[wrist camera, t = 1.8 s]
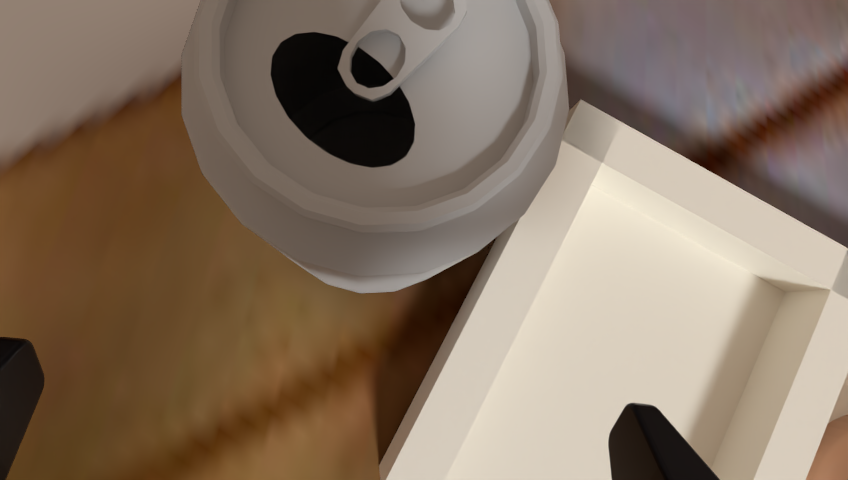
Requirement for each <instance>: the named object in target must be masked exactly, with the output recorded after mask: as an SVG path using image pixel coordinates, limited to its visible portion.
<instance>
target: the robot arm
mask: <svg viewBox="0 0 848 480" xmlns="http://www.w3.org/2000/svg"><path fill="white" fill-rule="evenodd" d="M43 386H44V373H43V371H42V368H41V365H40V363H39V360H38V357H37V355H36V352H35V349H34V347H33V345H32V343H31V342H30V341H28V340H26V339H20V338H10V337H0V480H6V477H7V475H8V473H9V471H10V468H11V466H12V463H13V461H14V458H15V456H16V454H17V451H18V449H19V446H20V444H21V441H22V439H23V437H24V434H25V432H26V429H27V427H28V424H29V422H30V420H31V417H32V415H33V412H34V410H35V408H36V405H37V403H38V400H39V398H40V395H41V393H42V390H43ZM608 449H609V458H610V468H611V477H612V480H720V479H719V478H718V477H717V476H716V474H715V473H714V472H713V471H712V470H711V469H710V467H709V466H708V465H707V464H706V463H705V462H704V461H703V459H702V458H701V457H700V456H699V455H698V454H697V453H696V451H695V450H694V449H693V448H692V447H691V446H690V445H689V443H688V442H687V441H686V440H685V439H684V438H683V437H682V435H681V434H680V433H679V432H678V431H677V430H676V428H675V427H674V426H673V425H672V424H671V423H670V422H669V420H668V419H667V418H666V417H665V416H664V415H663V414H662V412H661V411H660V410H659V409H658V408H656V407H655V406H653V405H650V404H642V403H629V404H627V405H626V406H625V407H624V409H623V411H622V412H621V414H620V416H619V417H618V419H617V421H616V423H615V424H614V426H613V428H612V429H611V431H610V434H609V439H608Z"/></svg>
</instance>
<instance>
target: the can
mask: <svg viewBox="0 0 848 480" xmlns="http://www.w3.org/2000/svg"><path fill="white" fill-rule="evenodd" d="M568 112H569V102H568V90H567V78H566V65H565V53H564V51H563V48H562V46H561V43H560V38H559V25H558V21H557V19H556V16H555V14H554V11H553V9H552V7H551V4H550V2H549V0H201V1H200V4H199V6H198V9H197V12H196V15H195V18H194V21H193V24H192V26H191V29H190V32H189V35H188V38H187V41H186V44H185V46H184V49H183V52H182V118H183V120H184V123H185V126H186V129H187V132H188V135H189V137H190V140H191V143H192V146H193V149H194V152H195V155H196V157H197V160H198V163H199V166H200V169H201V172H202V174H203V175H204V177H205V178H206V179H207V180H208V182H209V183H210V184H211V185H212V187H213V188H214V189H215V191H216V192H217V193H218V194H219V196H220V197H221V198H222V199H223V201H224V202H225V203H226V205H227V206H228V207H229V208H230V210H231V211H232V212H233V213H234V215H235V216H236V217H237V218H238V220H239V221H240V222H241V224H243V225H244V226H245V227H247V228H248V229H250V230H251V231H252V232H254V233H255V234H256V235H258V236H259V237H260V238H262V239H263V240H265V241H266V242H267V243H269V244H270V245H271V246H273V247H274V248H275V249H277V250H278V251H280V252H281V253H282V254H284V255H285V256H286V257H288V258H289V259H290V260H292V261H293V262H295V263H296V264H297V265H299V266H300V267H302V268H303V269H305V270H306V271H308V272H309V273H311V274H312V275H314V276H315V277H317V278H318V279H320V280H321V281H323V282H324V283H326V284H328V285H332V286H336V287H339V288H343V289H347V290H350V291H354V292H358V293H376V292H395V291H397V290H400V289H403V288H405V287H408V286H411V285H413V284H416V283H419V282H421V281H424V280H426V279H428V278H430V277H432V276H434V275H436V274H438V273H440V272H441V271H443V270H445V269H447V268H449V267H451V266H453V265H454V264H456V263H458V262H460V261H462V260H464V259H466V258H468V257H469V256H471V255H473V254H475V253H477V252H479V251H480V250H481V249H482V248H483V247H485V246H486V245H487V244H488V243H490V242H491V241H492V240H493V239H495V238H496V237H497V236H498V235H500V234H501V233H502V232H503V231H504V230H506V229H507V228H508V227H509V226H511V225H512V224H513V223H514V222H516V221H517V220H518V219H519V218H521V217H522V216H523V215H524V214H525V213H526V211H527V210H528V208H529V206H530V205H531V203H532V202H533V200H534V199H535V197H536V195H537V194H538V192H539V191H540V189H541V187H542V186H543V184H544V183H545V181H546V180H547V178H548V176H549V175H550V173H551V172H552V170H553V169H554V167H555V165H556V162H557V157H558V153H559V149H560V145H561V141H562V137H563V133H564V129H565V125H566V120H567V116H568Z"/></svg>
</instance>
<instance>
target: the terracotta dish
mask: <svg viewBox="0 0 848 480" xmlns="http://www.w3.org/2000/svg"><path fill="white" fill-rule="evenodd" d="M806 480H848V415H844V416H842V417H839V418H837V419H835V420H833V421H831V422H830V423H828V424H827V427H826V429H825V432H824V434H823V437H822V439H821V442H820V445H819V447H818V450H817V452H816V455H815V457H814V460H813V462H812V465H811V467H810V470H809V473H808V475H807V478H806Z"/></svg>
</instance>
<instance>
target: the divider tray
mask: <svg viewBox="0 0 848 480" xmlns="http://www.w3.org/2000/svg"><path fill="white" fill-rule="evenodd" d="M629 403H642V404H650V405H653V406H655V407H656V408H658V409H659V410H660V411H661V412H662V414H663V415H664V416H665V417H666V418H667V419H668V420H669V422H670V423H671V424H672V425H673V426H674V427H675V428H676V430H677V431H678V432H679V433H680V434H681V435H682V437H683V438H684V439H685V440H686V441H687V442H688V443H689V445H690V446H691V447H692V448H693V449H694V450H695V451H696V453H697V454H698V455H699V456H700V457H701V458H702V459H703V461H704V462H705V463H706V464H707V465H708V466H709V467H710V469H711V470H712V471H713V472H714V473H715V474H716V476H717V477H718V478H719V479H720V480H806V478H807V475H808V473H809V470H810V467H811V465H812V462H813V460H814V457H815V455H816V452H817V450H818V447H819V445H820V442H821V439H822V437H823V434H824V432H825V429H826V427H827V424H828V423H830V422H831V421H833V420H835V419H837V418H839V417H842V416H844V415H848V248H846V247H845V246H843V245H841V244H839V243H837V242H836V241H834V240H832V239H830V238H828V237H827V236H825V235H823V234H821V233H820V232H818V231H816V230H814V229H812V228H811V227H809V226H807V225H805V224H803V223H802V222H800V221H798V220H796V219H794V218H793V217H791V216H789V215H787V214H785V213H784V212H782V211H780V210H778V209H776V208H775V207H773V206H771V205H769V204H768V203H766V202H764V201H762V200H760V199H759V198H757V197H755V196H753V195H751V194H750V193H748V192H746V191H744V190H742V189H741V188H739V187H737V186H735V185H733V184H732V183H730V182H728V181H726V180H724V179H723V178H721V177H719V176H717V175H716V174H714V173H712V172H710V171H708V170H707V169H705V168H703V167H701V166H699V165H698V164H696V163H694V162H692V161H690V160H689V159H687V158H685V157H683V156H681V155H680V154H678V153H676V152H674V151H672V150H671V149H669V148H667V147H665V146H664V145H662V144H660V143H658V142H656V141H655V140H653V139H651V138H649V137H647V136H646V135H644V134H642V133H640V132H638V131H637V130H635V129H633V128H631V127H629V126H628V125H626V124H624V123H622V122H620V121H619V120H617V119H615V118H613V117H612V116H610V115H608V114H606V113H604V112H603V111H601V110H599V109H597V108H595V107H594V106H592V105H590V104H588V103H586V102H585V101H583V100H580V101H579V102H578V103H577V104H576V105H575V106H574V107H573V108H572V109H571V110H569V112H568V116H567V120H566V125H565V129H564V133H563V137H562V141H561V145H560V149H559V153H558V157H557V162H556V165H555V167H554V169H553V170H552V172H551V173H550V175H549V176H548V178H547V180H546V181H545V183H544V184H543V186H542V187H541V189H540V191H539V192H538V194H537V195H536V197H535V199H534V200H533V202H532V203H531V205H530V206H529V208H528V210H527V211H526V213H525V214H524V215H523V216H522V217H521V218H519V219H518V220H517V221H516V222H514V223H513V224H512V225H511V226H509V227H508V228H507V229H506V230H504V231H503V232H502V233H501V234H500V235H498V236H497V238H496V240H495V242H494V244H493V246H492V248H491V250H490V252H489V254H488V256H487V258H486V259H485V261H484V263H483V265H482V267H481V269H480V271H479V273H478V275H477V277H476V279H475V281H474V283H473V285H472V287H471V289H470V290H469V292H468V294H467V296H466V298H465V300H464V302H463V304H462V306H461V308H460V310H459V312H458V314H457V316H456V318H455V320H454V321H453V323H452V325H451V327H450V329H449V331H448V333H447V335H446V337H445V339H444V341H443V343H442V345H441V347H440V349H439V351H438V352H437V354H436V356H435V358H434V360H433V362H432V364H431V366H430V368H429V370H428V372H427V374H426V376H425V378H424V380H423V382H422V383H421V385H420V387H419V389H418V391H417V393H416V395H415V397H414V399H413V401H412V403H411V405H410V407H409V409H408V411H407V413H406V414H405V416H404V418H403V420H402V422H401V424H400V426H399V428H398V430H397V432H396V434H395V436H394V438H393V440H392V442H391V444H390V445H389V447H388V449H387V451H386V453H385V455H384V457H383V459H382V461H381V463H380V465H379V471H380V480H612V477H611V468H610V458H609V449H608V439H609V434H610V431H611V429H612V428H613V426H614V424H615V423H616V421H617V419H618V417H619V416H620V414H621V412H622V411H623V409H624V407H625V406H626V405H627V404H629Z"/></svg>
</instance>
